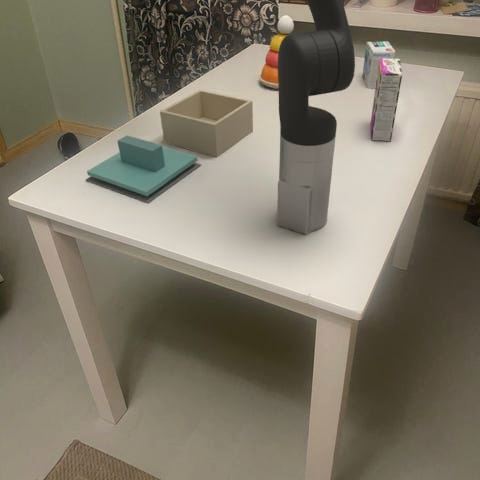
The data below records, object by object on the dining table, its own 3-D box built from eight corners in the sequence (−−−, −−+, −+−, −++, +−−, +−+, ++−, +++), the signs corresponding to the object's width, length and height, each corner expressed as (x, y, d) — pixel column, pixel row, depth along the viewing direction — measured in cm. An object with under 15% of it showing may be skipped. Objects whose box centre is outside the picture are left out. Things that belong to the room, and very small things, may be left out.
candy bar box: (369, 122, 122) (378, 57, 112) (389, 123, 121) (400, 58, 111) (369, 141, 113) (380, 72, 103) (391, 142, 113) (403, 73, 102)
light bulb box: (361, 76, 149) (366, 41, 142) (382, 76, 149) (388, 40, 142) (367, 89, 141) (372, 51, 134) (390, 88, 140) (396, 51, 134)
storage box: (217, 157, 109) (215, 125, 104) (164, 142, 116) (159, 111, 111) (252, 131, 120) (252, 100, 115) (202, 118, 127) (199, 89, 122)
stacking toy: (270, 94, 139) (271, 24, 127) (252, 80, 150) (251, 13, 138) (313, 87, 143) (317, 18, 131) (292, 73, 154) (294, 8, 142)
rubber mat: (148, 203, 95) (148, 202, 94) (85, 180, 103) (85, 179, 102) (201, 165, 106) (200, 164, 106) (141, 147, 114) (141, 146, 114)
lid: (148, 200, 95) (142, 170, 91) (88, 179, 102) (81, 150, 98) (197, 164, 106) (195, 135, 102) (141, 147, 114) (136, 120, 109)
